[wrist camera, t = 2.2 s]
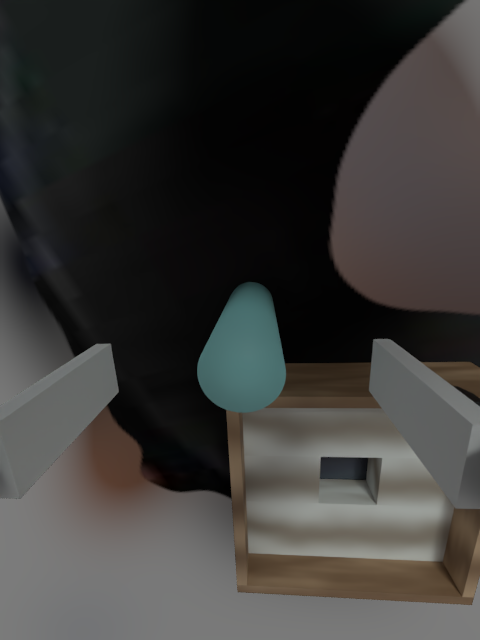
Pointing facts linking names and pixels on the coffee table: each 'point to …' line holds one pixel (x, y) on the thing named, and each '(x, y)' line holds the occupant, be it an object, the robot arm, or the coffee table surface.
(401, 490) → the wooden box with hole
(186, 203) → the coffee table surface
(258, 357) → the teal peg
